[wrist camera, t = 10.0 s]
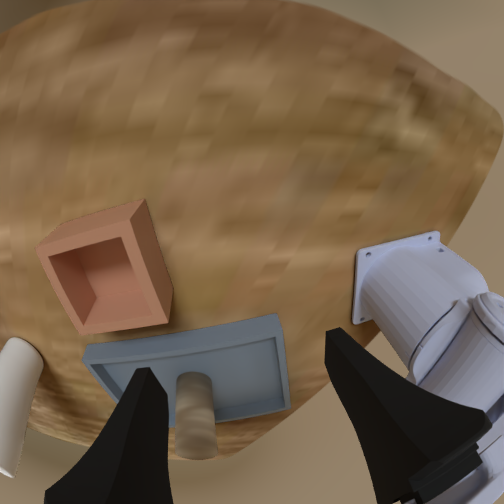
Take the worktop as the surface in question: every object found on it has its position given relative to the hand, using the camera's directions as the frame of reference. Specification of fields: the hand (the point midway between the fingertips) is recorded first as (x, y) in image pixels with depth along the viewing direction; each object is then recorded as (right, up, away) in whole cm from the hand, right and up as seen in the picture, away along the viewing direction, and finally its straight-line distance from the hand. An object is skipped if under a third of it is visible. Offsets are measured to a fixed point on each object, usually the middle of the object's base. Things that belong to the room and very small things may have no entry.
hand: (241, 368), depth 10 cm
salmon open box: (-9, +4, +8) cm, 13 cm away
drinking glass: (-25, -7, +11) cm, 28 cm away
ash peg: (-5, -8, +14) cm, 17 cm away
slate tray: (-5, -8, +15) cm, 18 cm away
